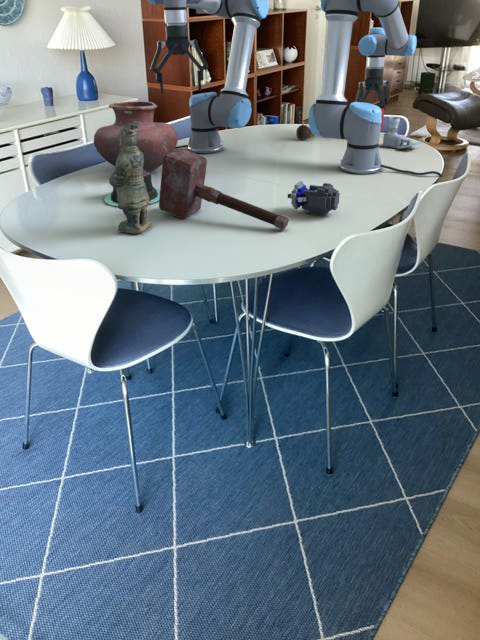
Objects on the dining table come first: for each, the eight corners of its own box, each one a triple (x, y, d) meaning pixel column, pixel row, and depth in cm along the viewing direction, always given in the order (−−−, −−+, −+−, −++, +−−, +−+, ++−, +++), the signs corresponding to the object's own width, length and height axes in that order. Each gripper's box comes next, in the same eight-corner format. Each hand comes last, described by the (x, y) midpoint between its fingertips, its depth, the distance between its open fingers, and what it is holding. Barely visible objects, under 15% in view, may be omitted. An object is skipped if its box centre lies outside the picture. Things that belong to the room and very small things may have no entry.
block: (373, 126, 259) (375, 106, 255) (382, 130, 252) (384, 109, 247) (356, 127, 258) (357, 107, 253) (364, 131, 250) (366, 110, 245)
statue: (131, 220, 168) (117, 116, 152) (158, 224, 164) (147, 118, 149) (109, 233, 159) (93, 124, 144) (138, 237, 156) (124, 126, 140)
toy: (295, 178, 172) (342, 184, 166) (295, 205, 177) (340, 211, 171) (285, 186, 166) (333, 192, 160) (284, 213, 170) (331, 220, 164)
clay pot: (187, 162, 225) (183, 96, 212) (166, 184, 199) (159, 111, 187) (116, 160, 230) (108, 96, 217) (87, 181, 204) (75, 110, 192)
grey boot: (392, 115, 240) (425, 120, 231) (389, 143, 246) (420, 148, 237) (382, 118, 234) (415, 123, 226) (379, 146, 240) (410, 152, 232)
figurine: (338, 121, 266) (314, 124, 247) (336, 138, 269) (312, 141, 250) (313, 119, 272) (288, 121, 253) (312, 135, 275) (287, 138, 256)
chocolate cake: (91, 202, 180) (113, 186, 197) (142, 231, 182) (160, 212, 199) (107, 162, 172) (129, 148, 190) (160, 192, 174) (177, 176, 192)
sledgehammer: (299, 190, 156) (179, 147, 167) (285, 200, 148) (161, 154, 160) (286, 244, 166) (174, 200, 177) (272, 256, 158) (156, 209, 170)
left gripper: (210, 22, 193) (213, 88, 204) (138, 25, 189) (145, 92, 199) (214, 23, 187) (217, 91, 197) (139, 26, 182) (146, 95, 193)
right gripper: (393, 65, 246) (388, 118, 258) (348, 67, 243) (344, 121, 254) (401, 67, 240) (395, 121, 252) (355, 69, 236) (351, 124, 248)
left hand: (181, 91), depth 198 cm, fingers open, 13 cm apart
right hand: (369, 121), depth 253 cm, fingers closed on block, 9 cm apart
